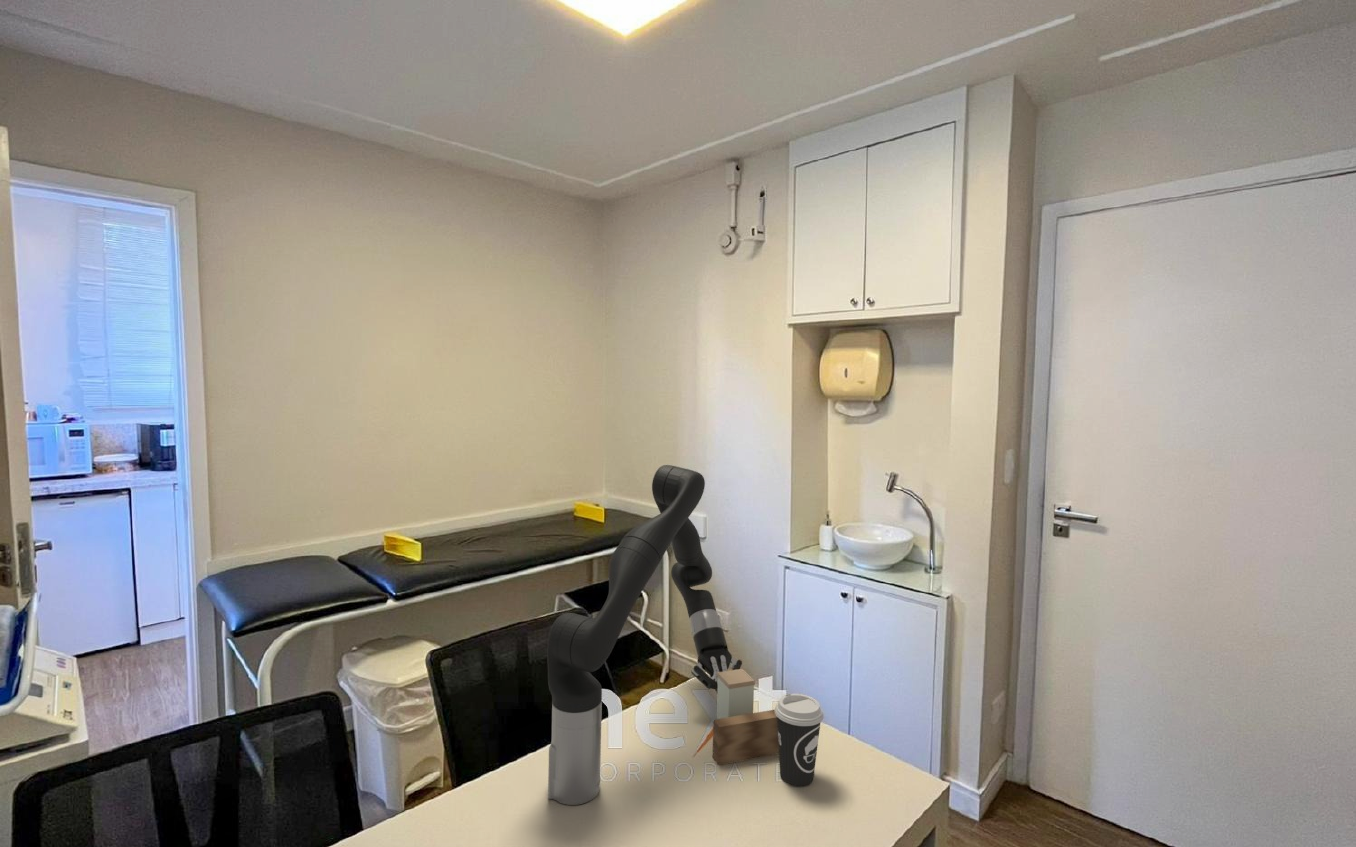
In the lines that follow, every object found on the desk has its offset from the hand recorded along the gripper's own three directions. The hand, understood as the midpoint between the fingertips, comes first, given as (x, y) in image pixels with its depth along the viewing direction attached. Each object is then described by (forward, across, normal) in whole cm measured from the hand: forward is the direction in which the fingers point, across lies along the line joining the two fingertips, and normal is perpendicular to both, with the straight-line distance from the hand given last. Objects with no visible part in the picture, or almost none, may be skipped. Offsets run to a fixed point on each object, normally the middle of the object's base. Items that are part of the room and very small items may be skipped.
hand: (727, 705), depth 143 cm
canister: (+6, 0, +1) cm, 6 cm away
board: (+12, 0, -5) cm, 13 cm away
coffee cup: (+19, +5, -12) cm, 23 cm away
